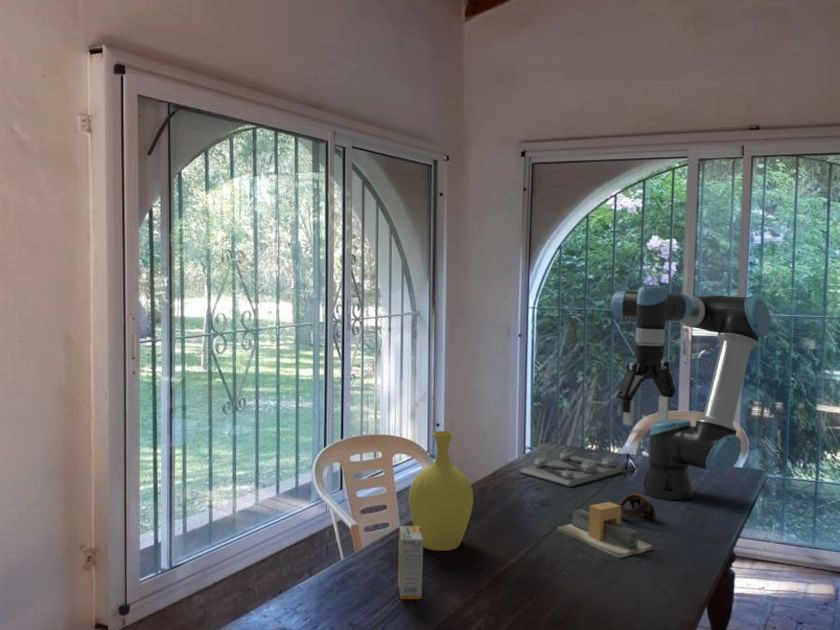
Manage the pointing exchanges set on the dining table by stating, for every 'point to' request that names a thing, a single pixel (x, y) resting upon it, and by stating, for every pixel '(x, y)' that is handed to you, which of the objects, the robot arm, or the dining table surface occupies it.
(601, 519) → the clip
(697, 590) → the dining table surface
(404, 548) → the supplement box
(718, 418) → the robot arm
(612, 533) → the rail block
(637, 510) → the pottery mug
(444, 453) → the vase
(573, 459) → the decorative plate
